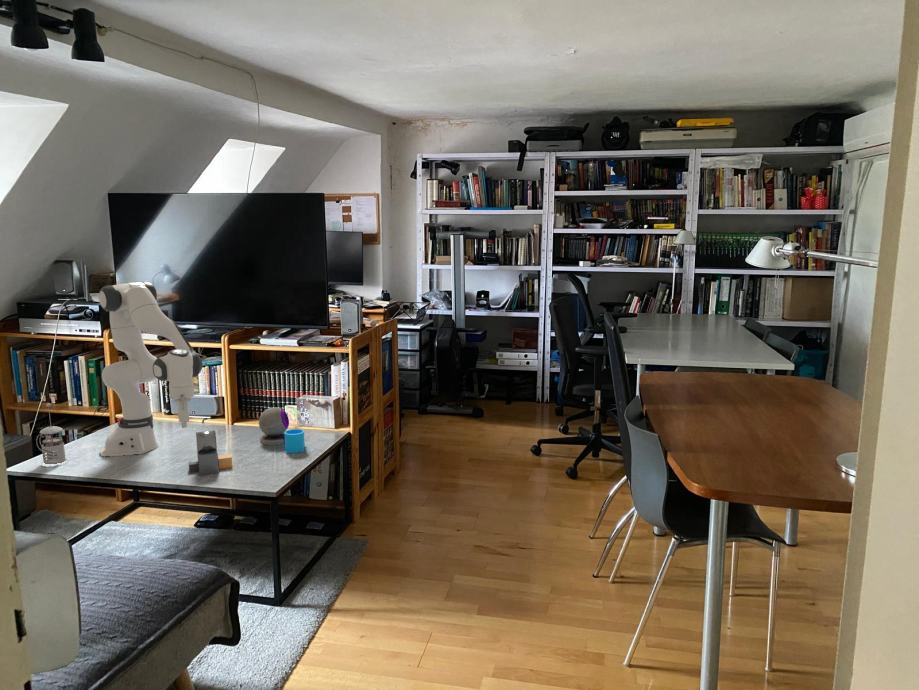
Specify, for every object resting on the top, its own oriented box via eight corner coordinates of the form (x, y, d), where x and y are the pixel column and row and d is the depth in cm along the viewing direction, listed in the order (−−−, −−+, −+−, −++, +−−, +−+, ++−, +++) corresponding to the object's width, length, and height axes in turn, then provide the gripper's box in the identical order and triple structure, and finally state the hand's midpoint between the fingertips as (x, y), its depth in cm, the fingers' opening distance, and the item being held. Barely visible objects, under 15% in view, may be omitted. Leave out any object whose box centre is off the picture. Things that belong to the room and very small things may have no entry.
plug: (189, 472, 267) (188, 462, 267) (189, 469, 271) (188, 459, 270) (232, 466, 273) (231, 457, 273) (231, 463, 277) (231, 454, 276)
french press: (56, 468, 273) (49, 407, 268) (31, 466, 275) (23, 405, 270) (74, 459, 282) (68, 400, 278) (49, 458, 284) (42, 399, 280)
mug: (299, 454, 288) (298, 435, 287) (281, 452, 290) (280, 434, 289) (311, 445, 300) (311, 427, 298) (294, 443, 301) (293, 425, 300)
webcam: (286, 444, 301) (284, 411, 298) (256, 445, 300) (254, 411, 297) (292, 435, 313) (290, 403, 311) (263, 436, 313) (261, 404, 310)
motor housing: (199, 475, 264) (196, 437, 261) (198, 463, 277) (195, 427, 274) (218, 472, 267) (216, 435, 264) (216, 461, 279) (213, 425, 277)
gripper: (191, 397, 255) (194, 433, 258) (189, 385, 274) (191, 418, 276) (173, 399, 253) (175, 435, 255) (172, 386, 271) (174, 420, 274)
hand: (184, 426), depth 266 cm, fingers closed
